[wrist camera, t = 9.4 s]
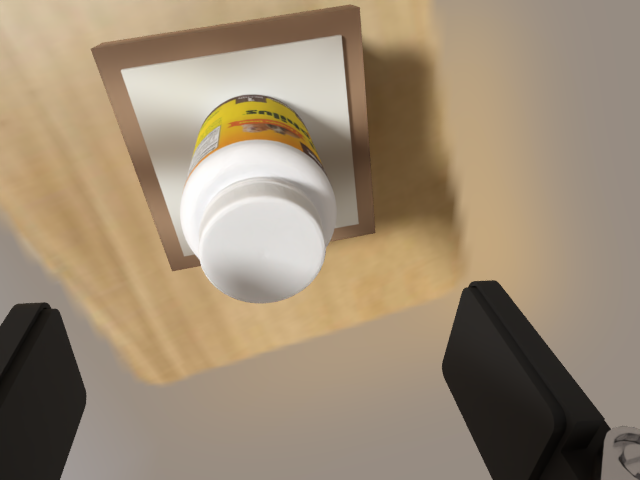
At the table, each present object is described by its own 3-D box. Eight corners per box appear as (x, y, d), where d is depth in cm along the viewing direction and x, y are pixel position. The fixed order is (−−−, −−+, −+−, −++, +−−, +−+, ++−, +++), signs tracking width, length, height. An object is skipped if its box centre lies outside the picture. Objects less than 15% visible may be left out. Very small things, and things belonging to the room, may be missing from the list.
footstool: (129, 28, 26) (88, 49, 19) (329, -2, 27) (361, 7, 20) (186, 208, 33) (171, 274, 26) (348, 179, 33) (376, 235, 26)
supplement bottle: (331, 138, 23) (387, 239, 14) (264, 215, 25) (278, 348, 16) (242, 63, 21) (245, 131, 12) (174, 155, 22) (133, 273, 14)
